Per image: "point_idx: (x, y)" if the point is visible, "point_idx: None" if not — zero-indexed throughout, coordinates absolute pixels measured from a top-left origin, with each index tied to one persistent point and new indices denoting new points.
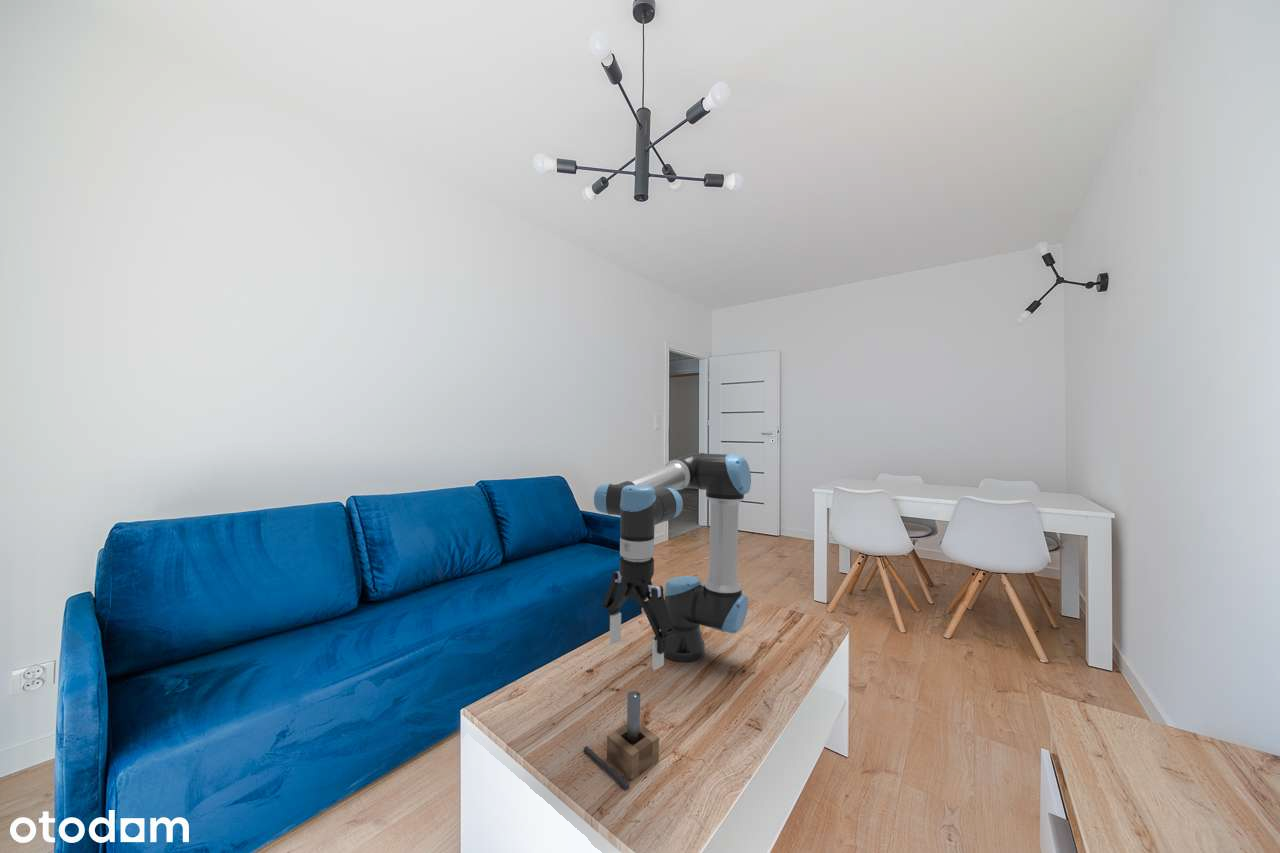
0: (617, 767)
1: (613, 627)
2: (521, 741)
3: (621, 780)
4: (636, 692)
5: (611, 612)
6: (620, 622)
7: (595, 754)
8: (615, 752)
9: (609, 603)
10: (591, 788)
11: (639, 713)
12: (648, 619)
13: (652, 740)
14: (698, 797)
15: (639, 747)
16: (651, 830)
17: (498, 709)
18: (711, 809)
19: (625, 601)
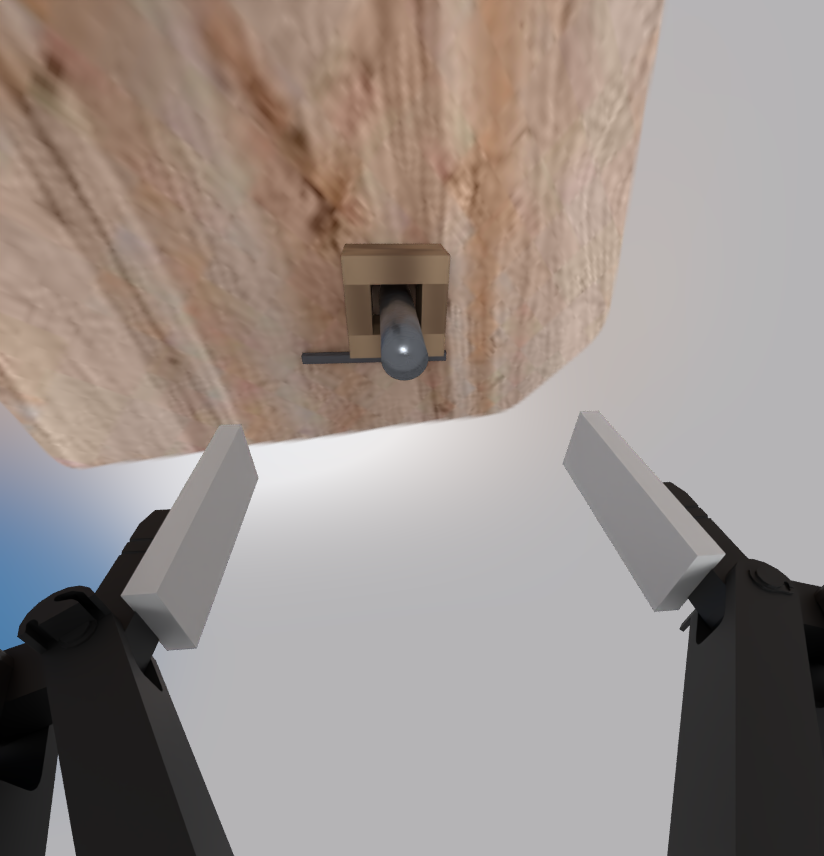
0: None
1: (223, 552)
2: (204, 433)
3: (430, 359)
4: (399, 343)
5: (160, 674)
6: (196, 522)
7: (336, 356)
8: None
9: (8, 725)
10: (394, 396)
11: (420, 328)
12: (682, 752)
13: (445, 280)
14: (569, 253)
15: (437, 325)
16: (529, 373)
17: (62, 429)
18: (604, 256)
19: (173, 784)
